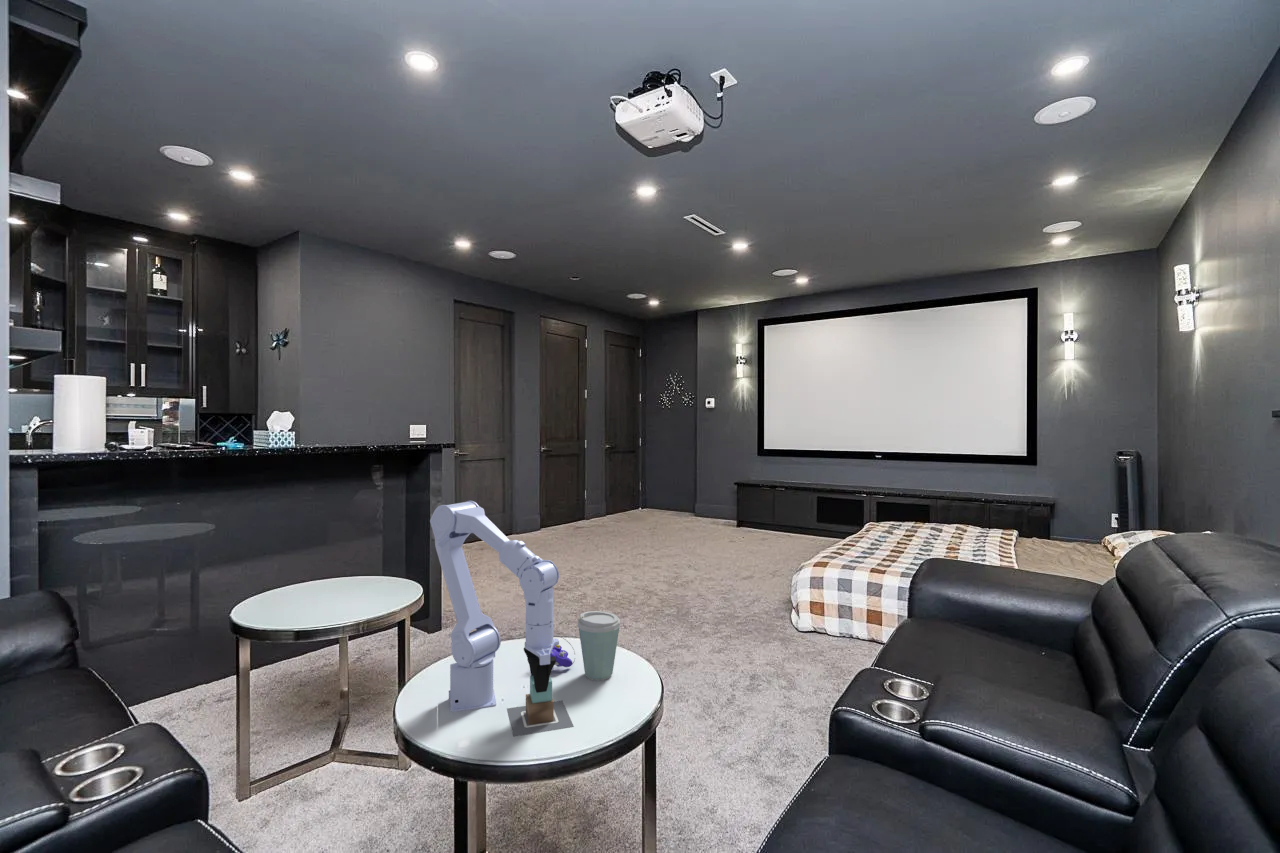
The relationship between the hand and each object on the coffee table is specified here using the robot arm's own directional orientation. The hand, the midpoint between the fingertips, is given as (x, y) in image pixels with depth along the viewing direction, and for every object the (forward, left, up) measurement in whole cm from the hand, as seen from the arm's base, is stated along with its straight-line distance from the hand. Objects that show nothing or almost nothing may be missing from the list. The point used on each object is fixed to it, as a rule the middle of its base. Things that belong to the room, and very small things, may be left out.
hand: (539, 686), depth 122 cm
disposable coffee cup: (+17, +16, -7) cm, 24 cm away
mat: (0, 0, -7) cm, 7 cm away
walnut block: (0, 0, -6) cm, 6 cm away
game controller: (+7, +24, -7) cm, 26 cm away
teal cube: (0, 0, -2) cm, 2 cm away
